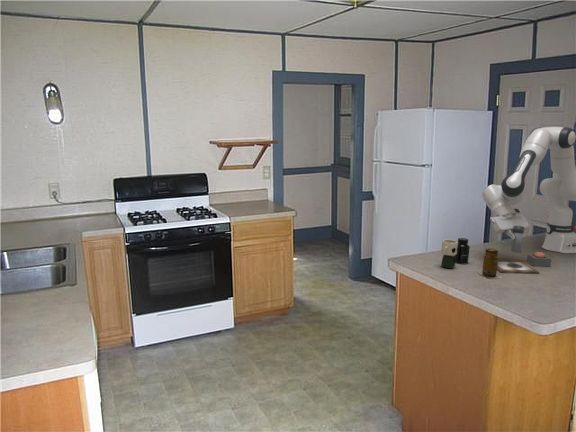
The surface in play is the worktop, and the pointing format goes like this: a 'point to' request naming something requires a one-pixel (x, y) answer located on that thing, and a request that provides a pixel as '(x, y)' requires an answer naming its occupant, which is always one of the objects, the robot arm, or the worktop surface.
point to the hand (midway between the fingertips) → (518, 238)
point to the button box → (538, 260)
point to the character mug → (449, 253)
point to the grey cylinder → (517, 242)
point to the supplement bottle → (462, 251)
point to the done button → (539, 255)
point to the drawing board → (515, 267)
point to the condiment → (490, 264)
